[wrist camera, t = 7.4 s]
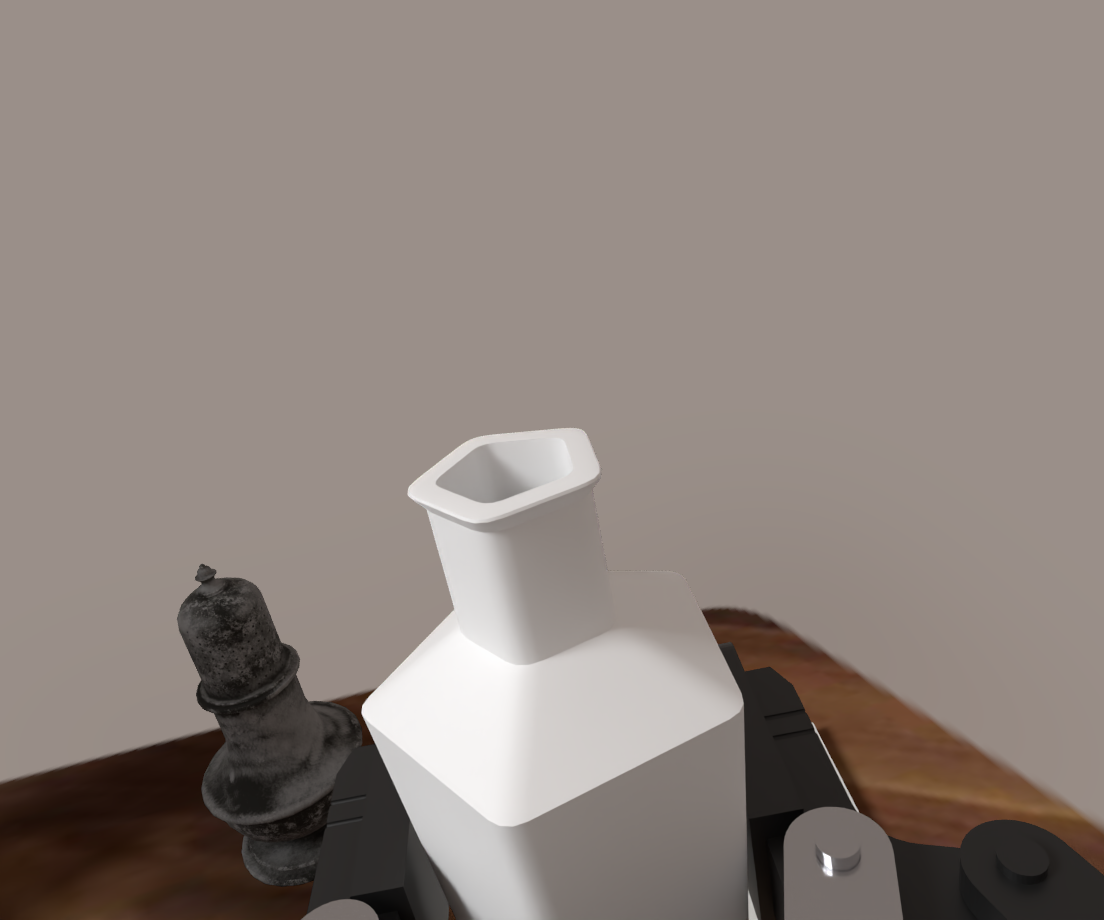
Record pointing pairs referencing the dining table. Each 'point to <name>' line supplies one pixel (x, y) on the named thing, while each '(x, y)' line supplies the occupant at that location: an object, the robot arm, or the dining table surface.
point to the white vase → (562, 708)
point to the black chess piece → (263, 731)
